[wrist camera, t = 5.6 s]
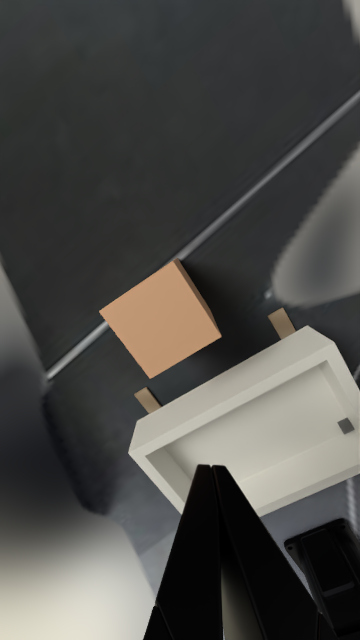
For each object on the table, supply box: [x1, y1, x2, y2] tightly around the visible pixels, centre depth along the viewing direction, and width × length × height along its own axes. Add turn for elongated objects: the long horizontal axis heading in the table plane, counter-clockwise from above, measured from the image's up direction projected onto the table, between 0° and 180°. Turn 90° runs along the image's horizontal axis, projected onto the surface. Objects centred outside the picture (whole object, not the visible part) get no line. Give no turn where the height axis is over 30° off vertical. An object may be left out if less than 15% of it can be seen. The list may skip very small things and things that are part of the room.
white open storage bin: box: [128, 326, 360, 517], centre depth 18 cm, size 10×15×4 cm, turn 123°
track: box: [135, 308, 296, 414], centre depth 21 cm, size 17×14×1 cm
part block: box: [99, 258, 222, 379], centre depth 15 cm, size 4×4×6 cm
